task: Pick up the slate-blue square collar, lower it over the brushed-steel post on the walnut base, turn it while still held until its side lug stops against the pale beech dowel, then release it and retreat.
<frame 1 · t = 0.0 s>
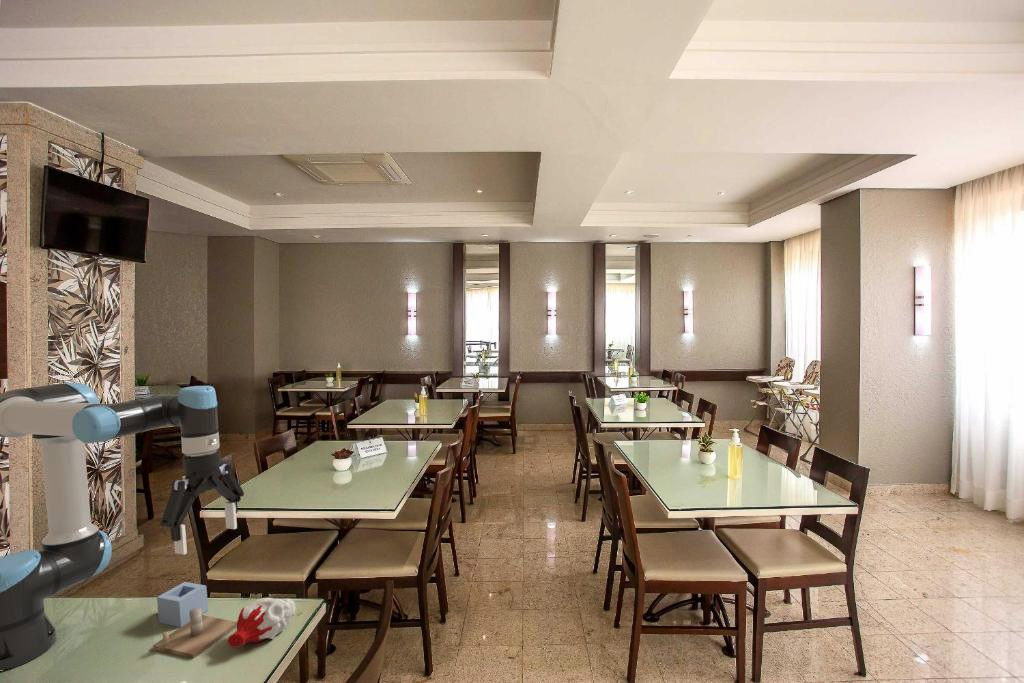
hand: (207, 540, 120), 28 cm above the table, fingers open, 13 cm apart
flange: (168, 612, 140), on the table
post base: (197, 637, 128), on the table
dowel: (166, 649, 124), resting on post base
candle: (259, 638, 127), on the table
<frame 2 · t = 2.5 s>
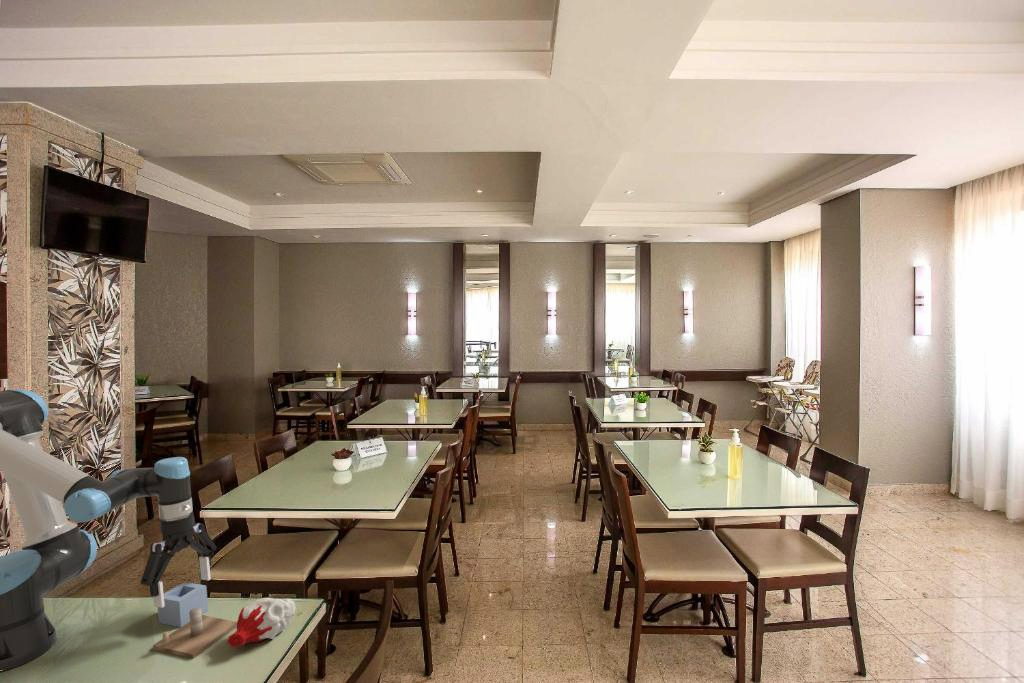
hand: (183, 592, 138), 7 cm above the table, fingers open, 13 cm apart
nothing on the table moved.
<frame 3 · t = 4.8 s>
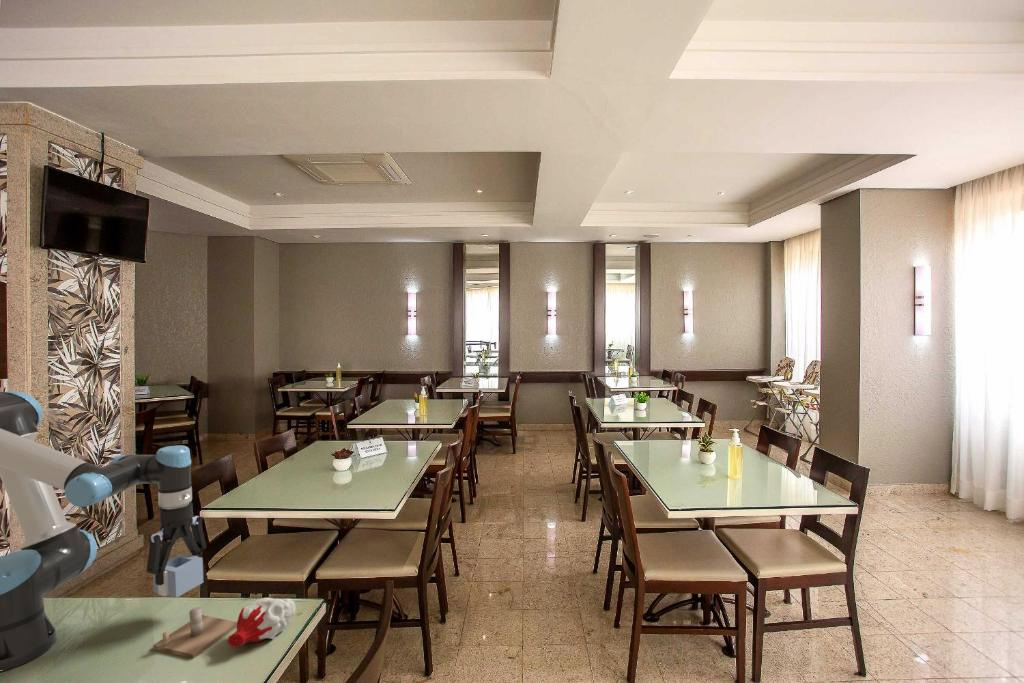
hand: (179, 586, 137), 8 cm above the table, fingers closed on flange, 8 cm apart
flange: (163, 584, 139), point 8 cm above the table, touching gripper
everything else where it was.
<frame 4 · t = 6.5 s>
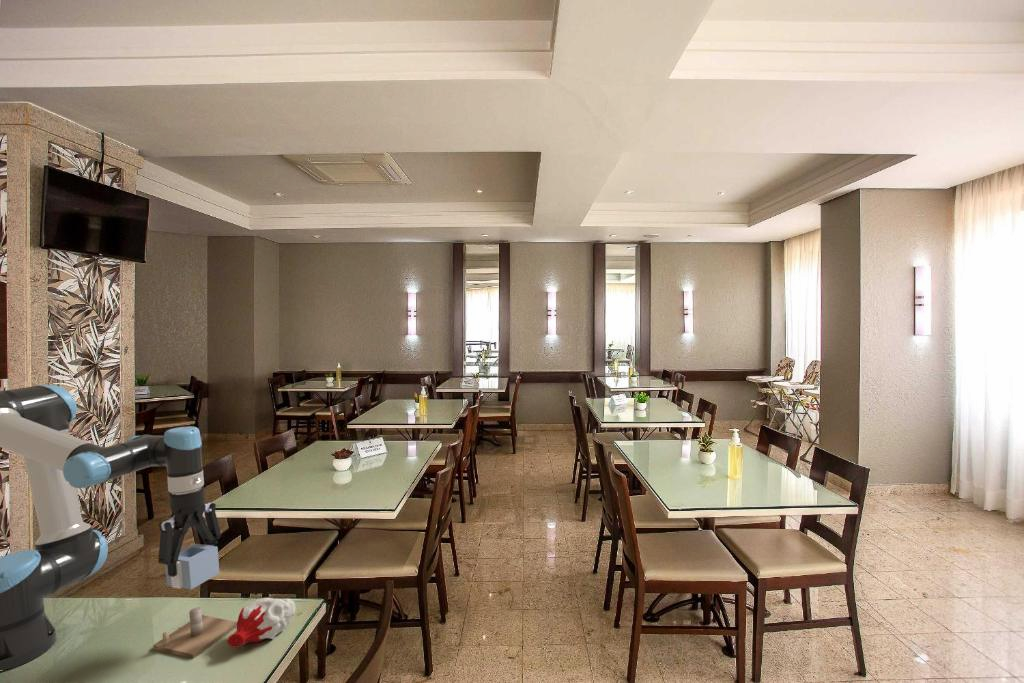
hand: (193, 578, 128), 15 cm above the table, fingers closed on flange, 8 cm apart
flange: (176, 576, 129), point 15 cm above the table, touching gripper
everything else where it was.
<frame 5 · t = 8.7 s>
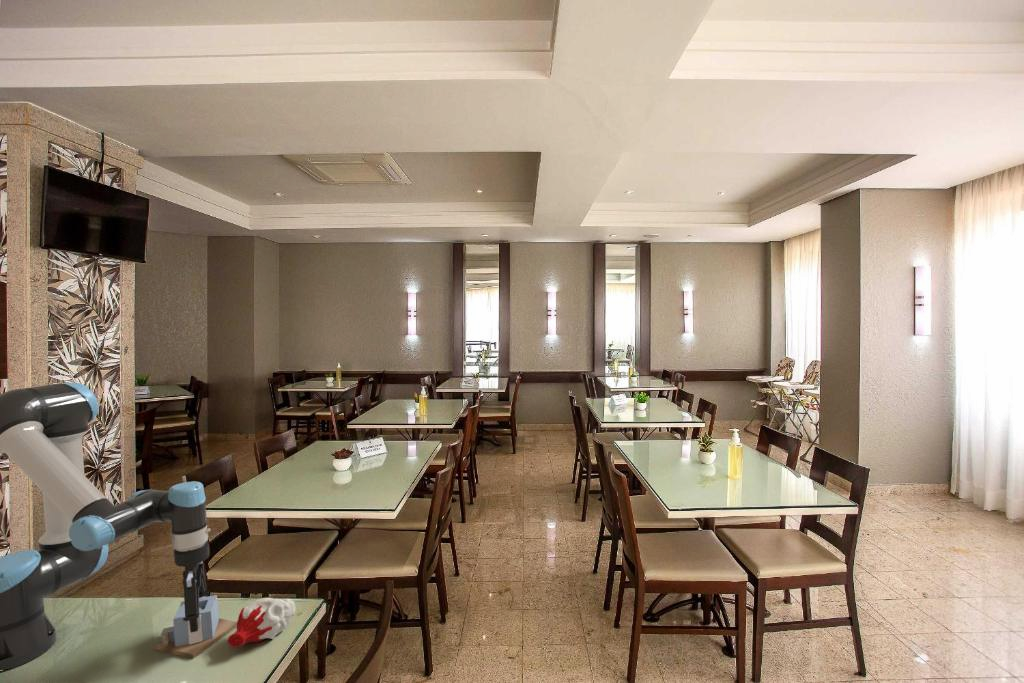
hand: (198, 631, 129), 1 cm above the table, fingers closed on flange, 8 cm apart
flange: (171, 639, 126), point 1 cm above the table, touching gripper
everything else where it was.
when the fingers open (1 cm above the table, at t = 9.8 s): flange stays where it is, resting on post base.
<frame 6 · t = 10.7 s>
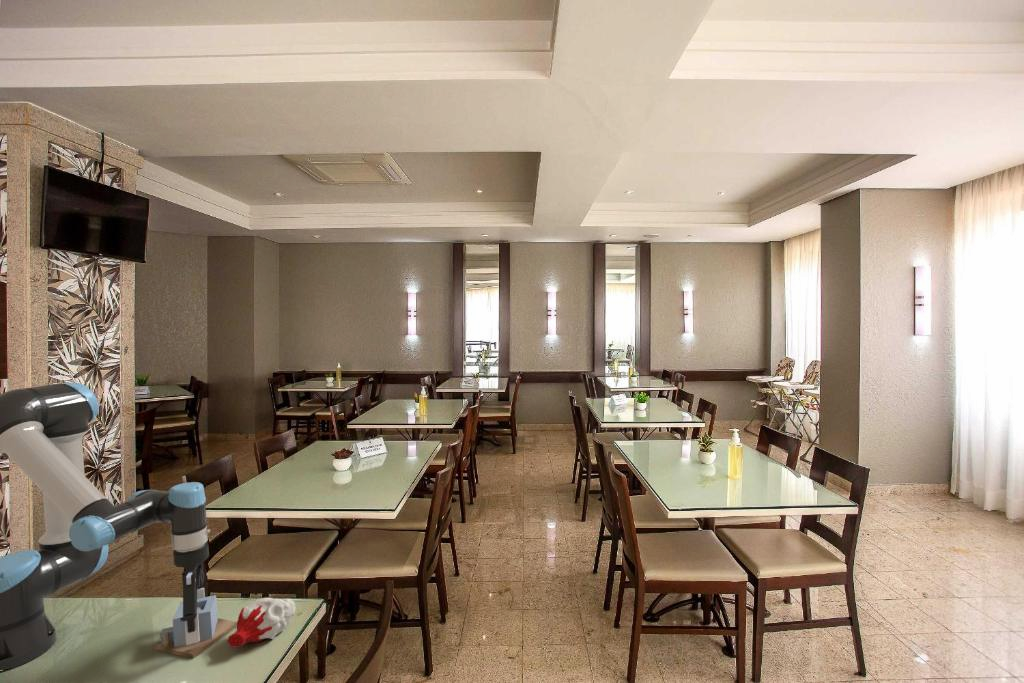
hand: (196, 627, 128), 3 cm above the table, fingers open, 13 cm apart
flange: (170, 639, 126), point 1 cm above the table, touching post base
everything else where it was.
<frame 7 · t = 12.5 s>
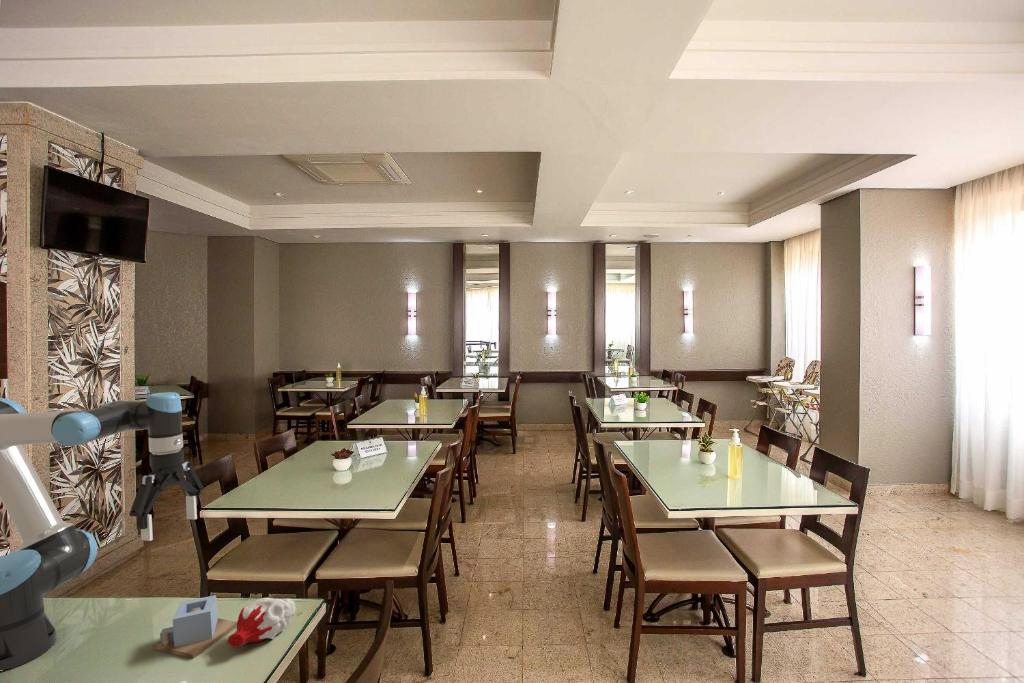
hand: (170, 528, 136), 25 cm above the table, fingers open, 13 cm apart
nothing on the table moved.
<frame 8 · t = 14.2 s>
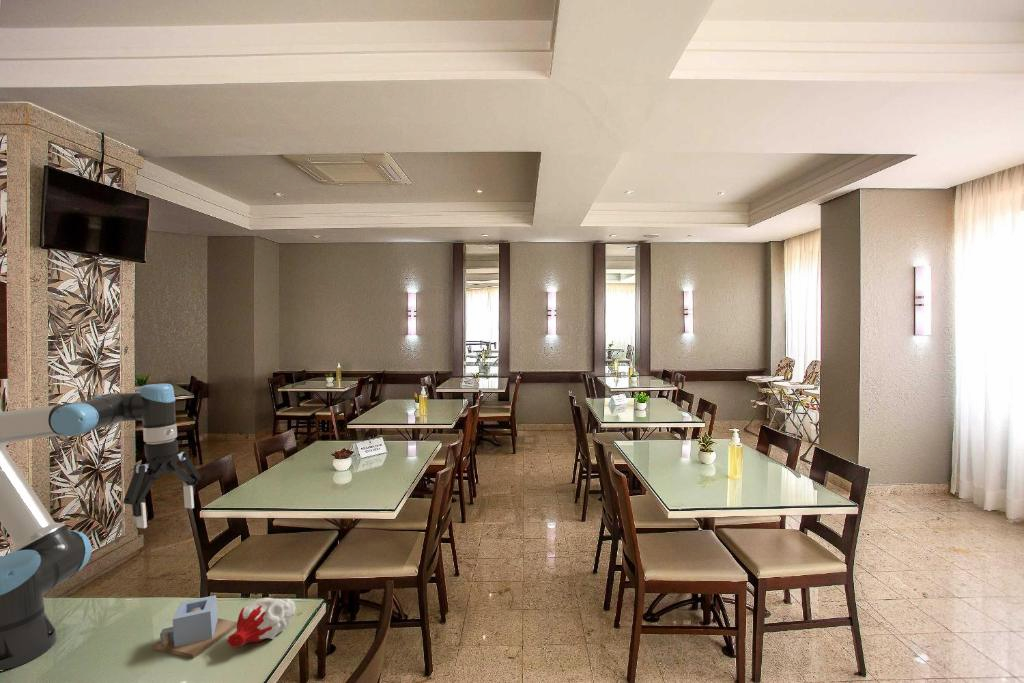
hand: (166, 517, 139), 27 cm above the table, fingers open, 13 cm apart
nothing on the table moved.
at the end: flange 0.4 cm from the target spot on the post base, point 1.0 cm above the post base's base; the gripper is holding nothing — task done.
